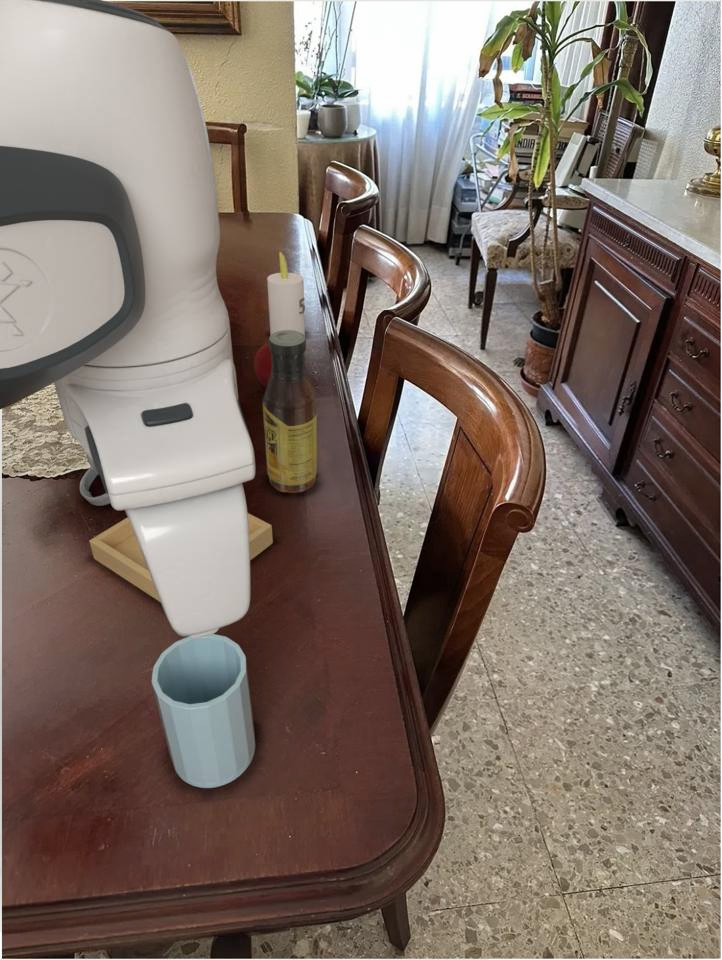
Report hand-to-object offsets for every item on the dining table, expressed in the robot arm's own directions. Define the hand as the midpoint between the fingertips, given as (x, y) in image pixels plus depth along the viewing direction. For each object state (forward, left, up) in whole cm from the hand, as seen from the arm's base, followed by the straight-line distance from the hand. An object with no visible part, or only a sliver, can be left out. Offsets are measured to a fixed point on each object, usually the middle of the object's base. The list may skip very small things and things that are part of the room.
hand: (185, 576), depth 42 cm
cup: (0, 0, -19) cm, 19 cm away
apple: (+50, +37, -19) cm, 65 cm away
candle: (+67, +50, -19) cm, 86 cm away
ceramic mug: (+19, +35, -19) cm, 44 cm away
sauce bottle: (+32, +19, -19) cm, 42 cm away
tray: (+15, +20, -19) cm, 31 cm away
